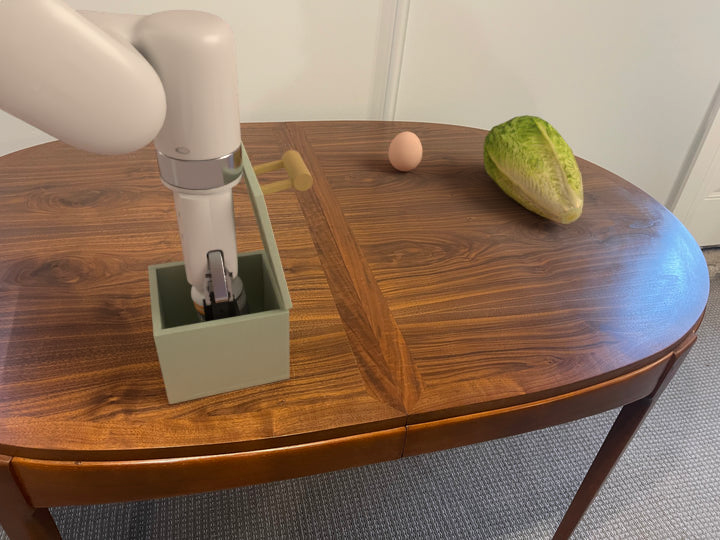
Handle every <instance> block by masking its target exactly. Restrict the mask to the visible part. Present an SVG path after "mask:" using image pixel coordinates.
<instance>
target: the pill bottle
mask: <svg viewBox="0 0 720 540" xmlns="http://www.w3.org/2000/svg"><path fill="white" fill-rule="evenodd" d="M223 268H224V271H225V267H223ZM209 273H211V272H210V269H209V270H207V272H206V274H209ZM208 284H209V291H210V292H212V291H213V285H212V282H209V283H208ZM231 285H232V292H233V294H234V297H235V307H236V316H242V315H248V314H251V312H250V309H249V305H248V302H247V298H246V295H245V291H244V287H243V283H242V281H241V279H240V278H239V277H238V276H236V277H235V278H234V279H232V278H231ZM191 297H192V301H193V303H194V306H195V308H196V311H197V314H198V317H199V320H200V322H201V323H202V322H206V321H205V314H204V307H203V300H202V299H205V295H204V288H203V282H202V284H198V285H192V289H191Z"/></svg>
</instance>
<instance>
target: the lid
mask: <svg viewBox="0 0 720 540" xmlns="http://www.w3.org/2000/svg"><path fill="white" fill-rule="evenodd" d="M241 145H242V161H243V177H242V178H243V180H244V183H245V188H246V191H247V194H248V198H249V201H250V205H251V208H252V211H253V216H254V218H255V222H256V226H257V229H258V232H259V236H260V240H261V243H262V247H263V250H265V253H266V255H267V258H268V261H269V264H270V267H271V270H272V272H273V275H274V278H275V281H276V284H277V287H278V289H279V292H280V295H281V298H282V301H283V304H284V307H285V309H286V310H287V309H288V310H291V309H293V302H292V299H291V295H290V292H289V288H288V284H287V280H286V276H285V273H284V269H283V265H282V260H281V257H280V253H279V249H278V245H277V242H276V237H275V234H274V231H273V227H272V223H271V219H270V216H269V212H268V207H267V204H266V200H265V196H267V195H270V194H274V193H278V192H281V191H285V190H289V189H292V188H293V189H294V190H296V191H298V192H305V191H308V190H310V188H312V186H313V184H314V178H313V175H312V174H311V172H310V171H309V169H308V167H307V165H306V163H305V161H304V160H303V157H302V156H301V155H300V153H299V152H298V151H297V150H294V149H289V150H286V151H284V153H283V154H282V156H281V159H277V160H273V161H268V162H264V163H262V164H257V165H254V166H253V165H252V164H251V161H250V158H249V156H248V153H247V150H246V149H245V145H244V143H243V141H242V139H241ZM281 169H284V171H285V172H286V175H287V176H288V178H286V179H282V180H279V181H274V182H271V183H268V184H264V185H260V183H259V180H258V177H257V176H258V175H263V174H266V173H270V172H274V171H278V170H281Z"/></svg>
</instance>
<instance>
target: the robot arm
mask: <svg viewBox="0 0 720 540" xmlns="http://www.w3.org/2000/svg"><path fill="white" fill-rule="evenodd" d="M237 67H238V66H237V51H236V40H235V35H234V32H233V30H232V27H231V26H230V24H229V23H228V22H227V21H226V20H225V19H223V17H221V16H218V15H216V14H213V13H210V12H207V11H202V10H194V9H168V10H162V11H158V12H157V11H156V12H153V13H150V14H129V13H115V12H106V11H105V12H104V11H98V10H97V11H96V10H85V9H74V8H73V7H72V6H70V5H69V4H67V3H66V2H65V1H63V0H0V110H1V111H3V112H5V113H7V114H9V115H10V116H12V117H14V118H16V119H18V120H20V121H23V122H24V123H25V124H27V125H30V126H31V127H34V128H35V129H37V130H39V131H41V132H43V133H45V134H47V135H48V136H50V137H53V138H55V139H56V140H58V141H61V142H62V143H64V144H66V145H68V146H71V147H72V148H75V149H78V150H81V151H83V152H87V153H91V154H95V155H99V156H109V157H113V156H115V157H116V156H125V155H128V154H133V153H136V152H138V151H140V150H142V149H143V148H145V147H147V146H148V145H149V144H151V143H152V141H153V145H154V150H155V157H156V163H157V169H158V175H159V180H160V183H162V185H163V186H164V187H165V188H166V189H169V190H170V191H172V192H173V193H172V194H173V201H174V209H175V216H176V222H177V228H178V235H179V240H180V247H181V253H182V258H183V261H184V264H185V270H186V276H187V280H188V282H189V283H190V284H191V285H198V284H202V282H203V288H204V295H205V299H202V300H203V307H204V314H205V321H206V322H208V321H213V320H219V319H225V318H231V317H236V307H235V297H234V294H233V292H232V285H231V278H232V279H234V278H235V277H236V276H237V274H238V262H237V253H238V246H237V245H238V243H237V229H236V227H237V226H236V217H235V216H236V214H235V204H234V194H233V188H234V187H236V186H237V185H238V184H240V183H241V181H242V180H243V178H244V177H243V161H242V145H241V140H242V133H241V116H240V101H239V100H240V98H239V84H238V68H237ZM223 267H225V271H224V268H223ZM209 269H210V272H211V273H209V274H206V272H207V270H209ZM209 282H212V285H213V291H212V292H210V291H209V284H208V283H209Z"/></svg>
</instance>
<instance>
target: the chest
mask: <svg viewBox="0 0 720 540" xmlns="http://www.w3.org/2000/svg"><path fill="white" fill-rule="evenodd" d="M237 262H238V274H237V276H238V277H239V278H240V279H241V281H242V283H243V287H244V291H245V295H246V298H247V302H248V305H249V309H250V312H251V314H248V315H242V316H236V317H231V318H225V319H219V320H213V321H208V322H202V323H201V322H200V320H199V317H198V314H197V311H196V308H195V306H194V303H193V301H192V297H191V289H192V285H191V284H190V283H189V282H188V280H187V276H186V270H185V264H184V260H178V261H172V262H171V261H170V262H163V263H158V264H157V263H156V264H149V265H147V271H148V282H149V295H150V297H149V298H150V309H151V321H152V322H151V323H152V334H153V340H154V343H155V344H154V345H155V348H156V353H157V357H158V362H159V366H160V370H161V375H162V379H163V380H162V381H163V385H164V388H165V393H166V397H167V401H168V404H169V405H174V404H180V403H184V402H188V401H193V400H197V399H202V398H206V397H211V396H217V395H220V394H225V393H230V392H234V391H239V390H243V389H248V388H254V387H257V386H262V385H266V384H267V385H268V384H271V383H275V382H281V381H286V380H290V379H291V378H290V376H291V375H290V372H291V371H290V369H291V368H290V367H291V366H290V364H291V363H290V361H291V360H290V309H287V310H286V309H285V307H284V304H283V301H282V298H281V295H280V292H279V289H278V287H277V284H276V281H275V278H274V275H273V272H272V270H271V267H270V264H269V261H268V258H267V255H266V253H265V250H264V249H258V250H251V251H244V252H237Z"/></svg>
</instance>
